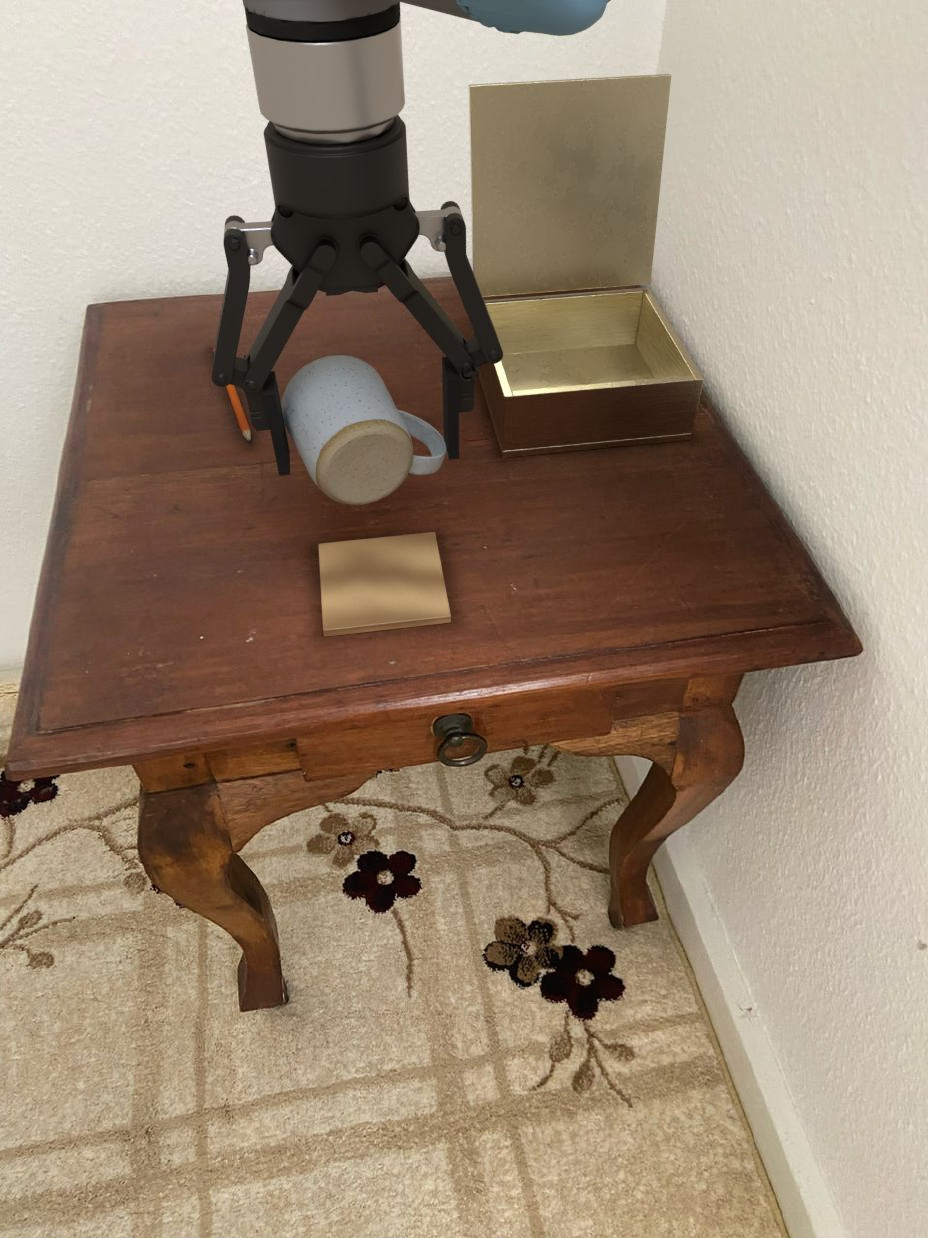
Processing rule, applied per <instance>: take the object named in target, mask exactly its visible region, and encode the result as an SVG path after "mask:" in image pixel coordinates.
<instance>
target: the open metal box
mask: <svg viewBox="0 0 928 1238" xmlns="http://www.w3.org/2000/svg"><path fill="white" fill-rule="evenodd" d="M484 302H485V304H486V307H487V310H488V312H489V315H490V317H491V320H492V323H493V325H494V328H495V331H496V333H497V336H498V339H499V342H500V345H501V348H502V351H503V358H502V360H501V361H500V362H498V363H496V364H490V363H488V362H487V363H485V364H483V365H481V366H479V367H478V368H477V371H478V374H477V376H478V379H479V383H480V387H481V390H482V393H483V397H484V400H485V404H486V406H487V410H488V413H489V417H490V420H491V425H492V428H493V431H494V435H495V438H496V441H497V444H498V449H499V452H500V455H501V458H502V459H505V458H515V457H527V456H536V455H547V454H555V453H556V454H557V453H569V452H578V451H579V452H580V451H590V450H599V449H611V448H621V447H631V446H641V445H652V444H661V443H663V444H664V443H673V442H683V441H691V438H692V433H693V429H694V425H695V420H696V416H697V412H698V408H699V403H700V397H701V394H702V389H703V386H704V385H703V384H704V381H705V378H704V377H703V375H702V374H701V372H700V370H699V368H698V367H697V365H696V363H695V362H694V359H692V356H690V354H689V352H688V350H687V349H686V347H685V345H684V343H683V342H682V340H681V339H680V337H679V335H678V334H677V332H676V330H675V329H674V327H673V325H672V324H671V322H670V321H669V319H668V317H667V316H666V313H665V312H664V310H663V309H662V308H661V305H660V304H659V302H658V301H657V299H656V297H655V296H654V294H653V292H652V291H651V289H650V287H639V288H628V289H625V288H624V289H613V290H601V291H587V292H575V293H574V292H573V293H561V294H551V295H550V294H549V295H535V296H524V297H510V298H496V299H484ZM475 337H476V335H475V332H474V331H473V338H475Z"/></svg>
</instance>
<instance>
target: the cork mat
mask: <svg viewBox="0 0 928 1238" xmlns="http://www.w3.org/2000/svg"><path fill="white" fill-rule="evenodd" d="M317 546H318V561H319V562H318V565H319V581H320V583H319V584H320V599H321V601H320V602H321V619H322V633H323V636H324V637H325V638H326V637H327V638H328V637H335V636H345V635H353V634H361V633H370V632H380V631H389V630H397V629H406V628H415V627H423V626H433V625H442V624H450V623H452V615H451V614H452V613H451V608H450V604H449V603H450V602H449V598H448V592H447V587H446V582H445V578H444V577H445V576H444V571H443V567H442V561H441V556H440V550H439V545H438V540H437V534H436V532H435V531H429V532H419V533H410V534H409V533H408V534H401V535H389V536H382V537H381V536H380V537H379V536H378V537H372V538H371V537H370V538H362V539H351V540H342V541H333V542H324V543H318V545H317Z"/></svg>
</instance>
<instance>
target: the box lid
mask: <svg viewBox="0 0 928 1238" xmlns="http://www.w3.org/2000/svg"><path fill="white" fill-rule="evenodd" d="M671 81H672V75H671V74H670V73H660V74H643V75H642V74H641V75H622V76H605V77H588V78H587V77H586V78H585V77H584V78H569V79H568V78H566V79H549V80H530V81H528V80H527V81H511V82H509V81H508V82H493V83H491V82H490V83H475V84H474V83H473V84H468V119H469V120H468V121H469V124H468V125H469V163H470V164H469V165H470V166H469V167H470V206H471V208H470V210H471V211H470V212H471V215H470V216H471V253H472V270H473V273H474V276H475V278H476V281H477V283H478V286H479V289H480V291H481V294H482V297H483V298H488V297H501V296H512V295H513V296H514V295H527V294H538V293H540V294H541V293H551V292H565V291H566V292H567V291H578V290H591V289H604V288H606V289H607V288H616V287H618V288H619V287H629V286H630V287H631V286H641V285H642V286H644V285H651V283H652V273H653V264H654V255H655V244H656V233H657V223H658V214H659V204H660V195H661V185H662V183H661V182H662V175H663V174H662V173H663V163H664V154H665V152H664V150H665V143H666V133H667V125H668V124H667V123H668V112H669V102H670V92H671V83H672V82H671Z"/></svg>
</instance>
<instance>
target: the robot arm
mask: <svg viewBox="0 0 928 1238" xmlns="http://www.w3.org/2000/svg"><path fill="white" fill-rule="evenodd" d="M611 1H612V0H242V5H243V8H244V13H245V20H246V25H245V29H246V36H247V42H248V47H249V48H248V49H249V55H250V58H251V59H250V60H251V66H252V72H253V78H254V83H255V84H254V85H255V90H256V95H257V103H258V109H259V112H260V114H261V116H263V118H265V120H267V121H268V122H267V124H266V126H265V128H264V130H263V139H264V146H265V152H266V157H267V164H268V170H269V176H270V183H271V190H272V196H273V202H274V211H273V214H272V217H271V219H270V220H269V221H252V222H246V221H245V220H244V218H243V217H241V216H239V215H235V214H233V215H229V216H228V217H227V218H226V219H225V222H224V229H223V251H224V255H225V258H226V259H225V260H226V264H227V273H226V280H225V286H224V291H223V298H222V303H221V309H220V314H219V320H218V326H217V332H216V338H215V344H214V345H215V349H214V352H213V356H212V367H211V381H212V384H214V385H215V386H217V387H220V388H224V387H225V388H226V386H228V385H229V384H230V385H234V386H235V387H238V388H240V389H241V390H242V391H243V392H244V394H245V398H246V402H247V407H248V411H249V416H250V420H251V421H250V422H251V425H252V427H253V428H254V429H255V431H256V432H263V431H269V432H270V436H271V437H270V438H271V440H272V446H273V452H274V457H275V461H276V466H277V472H278V475H279V477H280V476H289V475H291V453H290V452H291V451H290V445H289V440H288V435H287V429H286V427H285V423H284V418H283V413H282V407H281V403H282V401H281V397H280V396H281V395H280V391H279V386H278V381H277V375H276V371H275V370H273V369H274V367H275V366H276V363H277V361H278V360H279V358H280V356H281V354H282V352H283V351H284V349H285V347H286V345H287V343H288V342H289V339H290V338H291V336H292V335H293V332H294V330H295V329H296V327H297V324H299V321H300V319H301V318H302V316H303V314H304V313H305V311H307V310H308V309H309V307H310V306H311V304H312V302H313V300H314V299H315V297H316V295H317V293H318V291H319V292H322V293H325V296H326V297H332V296H341V295H344V294H346V293H350V292H357V293H363V294H372V293H373V294H374V293H379V289H381V288H383V287H384V286H385V287H386V288H387V289H388V290H389V291H390V293H391V294H392V295H393V296H394V298H395V299H396V300H397V301H398V302H399V303H401V304H403V306H404V307H405V308H406V310H408V312H409V313H410V314H411V315H412V316H413V318H414V319H415V320H416V321H417V322H418V324H419V325H420V326H421V327H422V329H423V330H424V331H425V333H426V334H427V335H428V336H429V337H430V338H431V340H432V341H433V342H434V343H435V345H436V346H437V347H438V348H439V350H440V351H441V352H442V353H443V354H444V356H442V357H441V374H442V375H441V376H442V377H441V378H442V381H441V382H442V412H443V413H442V417H443V418H442V419H443V439H444V441H445V444H446V448H447V453H446V454H447V457H448V460H449V461H450V460H459V459H460V414H461V413H471V412H472V411H473V409H474V407H475V386H476V385H475V383H476V382H475V380H476V378H477V376H478V371H477V368H478V367H479V366H481V365H483V364H485V363H487V362H488V363H490V364H496V363H498V362H500V361H501V360H502V358H503V351H502V348H501V345H500V342H499V339H498V336H497V333H496V331H495V328H494V325H493V323H492V320H491V317H490V315H489V312H488V310H487V307H486V304H485V302H484V300H485V299H484V297H482V294H481V291H480V289H479V286H478V283H477V281H476V278H475V276H474V273H473V267H472V266H471V263H470V260H469V258H468V255H467V225H466V222H465V218H464V216H463V214H462V211H461V207H460V206H459V204H458V202H455V201H454V200H447V201H445V202H444V203H442V205H441V206H440V209H430V210H429V209H427V210H416V209H415V207H414V206H413V204H412V202H411V199H410V185H409V162H408V143H407V125H406V122H405V121H404V120H403V119H402V118H401V116H400V115H399V114H400V113H401V112H402V111H403V110H404V107H405V105H406V97H405V96H406V95H405V79H404V76H405V75H404V61H403V60H404V59H403V58H404V57H403V41H402V39H403V38H402V37H403V36H402V21H401V20H402V19H401V3H403V4H407V5H410V6H415V7H418V8H422V9H425V10H429V11H434V12H437V13H441V14H445V15H450V16H453V17H457V18H461V19H465V20H469V21H472V22H476V23H479V24H480V25H482V26H484V27H486V28H488V29H490V28H491V29H492V28H494V29H496V31H498V32H501V33H504V34H515V35H519V34H521V33H524V32H525V33H533V34H542V35H548V36H555V37H556V36H557V37H564V36H565V37H566V36H572V35H577V34H579V33H581V32H584V31H586V30H588V29H590V28H591V27H592V26H594V25H596V23H598V21H600V20H601V19H602V17H603V16H604V13H605V11H606V8H607V5H608V3H610V2H611ZM419 236H424V237H426V238H427V239H428V240H429V244H430V246H431V248H432V249H433V251H436V252H440V253H444V256H445V257H444V258H445V260H446V263H447V267H448V269H449V272H450V276H451V277H452V280H453V282H454V285H455V288H456V289H457V292H458V295H459V298H460V300H461V302H462V305H463V307H464V310H465V313H466V315H467V317H468V320H469V322H470V325H471V327H472V330H473V333H474V332H475V335H476V337H475V338H474V337H473V338H470V339H468V340H467V338H466V337H465V336H464V334H463V333H462V332H461V331H460V329H459V328H458V326H457V325H456V324H455V323H454V322H453V320H452V319H451V317H450V316H449V315H448V314H447V312H445V310H444V309H443V307H442V306H441V305H440V303H438V301H437V300H436V299H435V297H434V296H433V295H432V294H431V292H430V291H429V290H428V288H427V287H426V286H425V284H424V283H423V282H422V280H421V279H420V278H419V277H418V276H417V274H416V273H415V271H414V269H413V267H412V266H411V264H410V263H409V261H408V260H407V259H406V257H407V255H408V254H409V252H410V251H411V249H412V248H413V246H414V244H415V243H416V242H417V240H418V238H419ZM271 246H274V248H275V249H276V251H277V252H278V253H279V254H280V255H281V256H282V257H283V258H284V259H285V260H286V261H287V262H288V263H289V264H290V268H289V270H288V272H287V275H286V279H285V281H284V283H283V286H282V288H281V289H280V291H279V293H278V296H277V297H276V299H275V300H274V303H273V305H272V306H271V308H270V310H269V312H268V314H267V316H266V318H265V320H264V322H263V324H262V326H261V328H260V330H259V331H258V334H257V336H256V337H255V340H254V341H253V343H252V345H251V347H250V349H249V351H248V352H247V355H246V354H244V355H243V357H239V356H237V354H238V353H237V352H238V347H239V344H240V343H239V342H240V338H241V332H242V327H243V322H244V317H245V311H246V307H247V301H248V296H249V290H250V284H251V268H252V267H253V266H257V265H259V264H260V263H262V261H263V259H264V252H265V250H266V249H267V248H269V247H271Z"/></svg>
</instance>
